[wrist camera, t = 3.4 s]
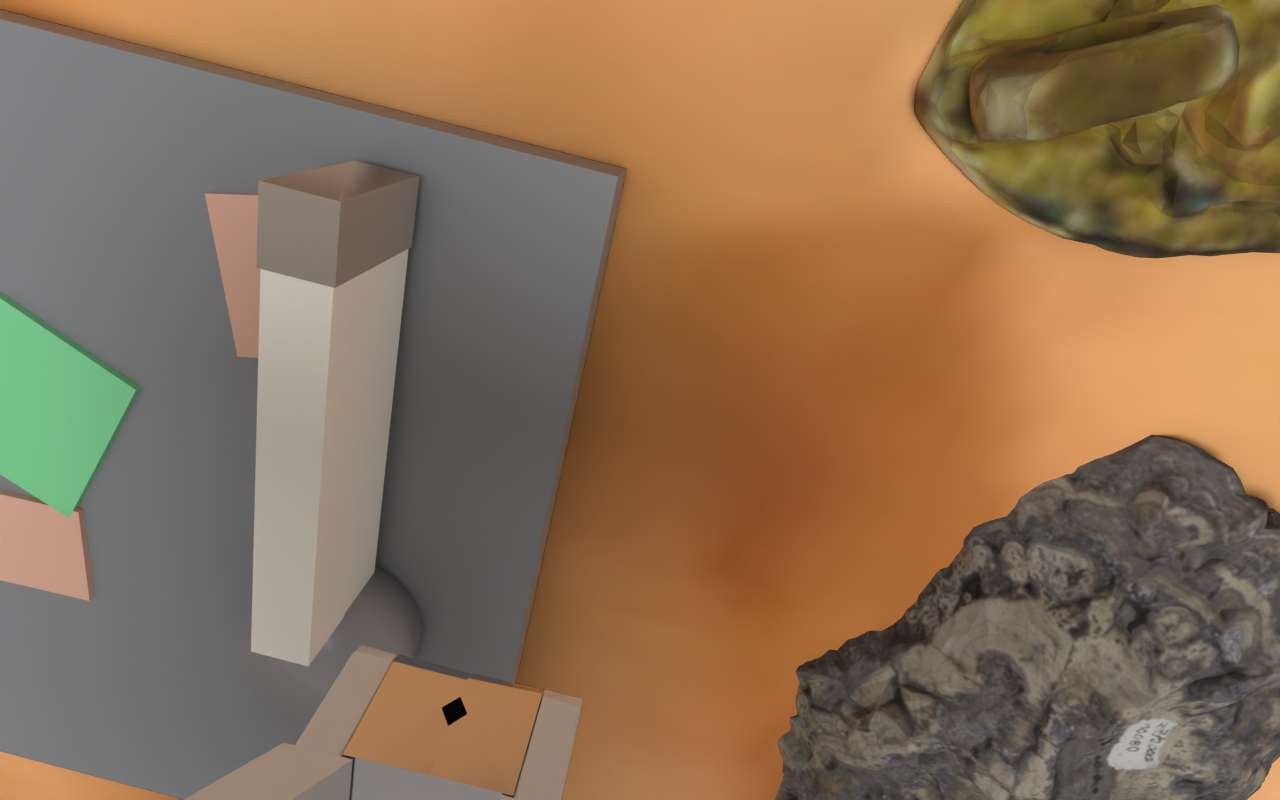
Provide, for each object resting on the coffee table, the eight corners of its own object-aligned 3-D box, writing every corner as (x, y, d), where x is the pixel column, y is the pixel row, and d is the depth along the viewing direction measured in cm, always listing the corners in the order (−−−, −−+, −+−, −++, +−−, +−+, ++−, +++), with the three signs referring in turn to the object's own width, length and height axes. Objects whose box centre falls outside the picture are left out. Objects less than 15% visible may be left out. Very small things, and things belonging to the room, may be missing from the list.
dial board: (482, 835, 28) (467, 880, 26) (6, 710, 28) (-36, 747, 26) (626, 168, 18) (616, 177, 16) (-105, -18, 18) (-184, -27, 17)
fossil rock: (766, 896, 28) (1206, 926, 26) (772, 1014, 24) (1281, 1059, 23) (777, 424, 21) (1382, 424, 19) (787, 494, 17) (1532, 502, 16)
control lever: (413, 693, 23) (356, 805, 19) (272, 656, 23) (190, 761, 20) (485, 192, 17) (420, 222, 13) (293, 142, 17) (178, 160, 13)
